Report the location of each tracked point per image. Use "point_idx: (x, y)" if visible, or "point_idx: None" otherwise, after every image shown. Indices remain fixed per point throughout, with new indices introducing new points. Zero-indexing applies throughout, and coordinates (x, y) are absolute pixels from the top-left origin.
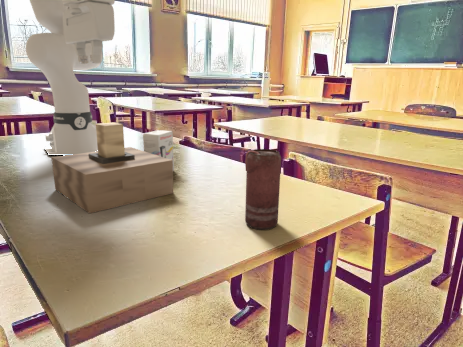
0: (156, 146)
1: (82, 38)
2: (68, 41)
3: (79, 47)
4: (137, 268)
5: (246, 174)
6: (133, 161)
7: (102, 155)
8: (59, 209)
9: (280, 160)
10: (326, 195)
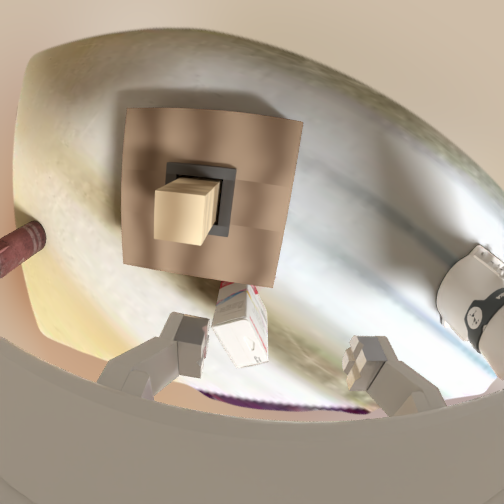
0: (218, 310)
1: (230, 429)
2: (492, 398)
3: (402, 406)
4: (38, 105)
5: (10, 244)
6: (152, 213)
7: (197, 180)
8: (197, 89)
9: None
10: (64, 330)
